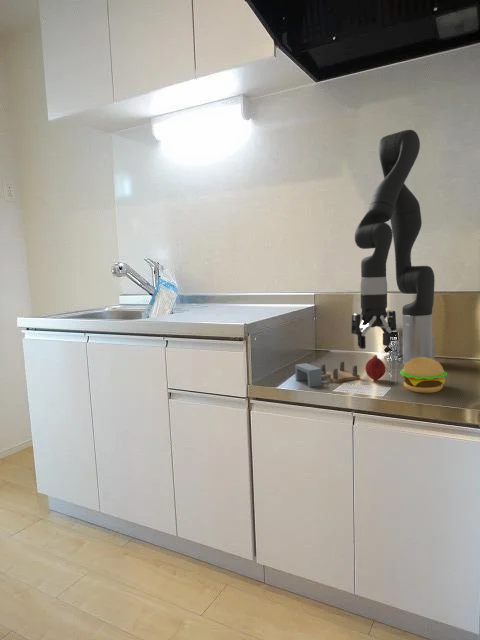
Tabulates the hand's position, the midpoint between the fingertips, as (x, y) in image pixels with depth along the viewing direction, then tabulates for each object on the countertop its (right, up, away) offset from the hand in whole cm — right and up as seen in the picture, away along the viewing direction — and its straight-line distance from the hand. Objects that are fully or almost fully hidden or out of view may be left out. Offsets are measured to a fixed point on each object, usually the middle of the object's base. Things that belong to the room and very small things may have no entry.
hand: (374, 346), depth 133 cm
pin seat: (-11, -10, +7) cm, 16 cm away
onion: (+1, -11, +1) cm, 11 cm away
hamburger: (+11, -11, -9) cm, 18 cm away
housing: (-19, -11, +4) cm, 22 cm away
